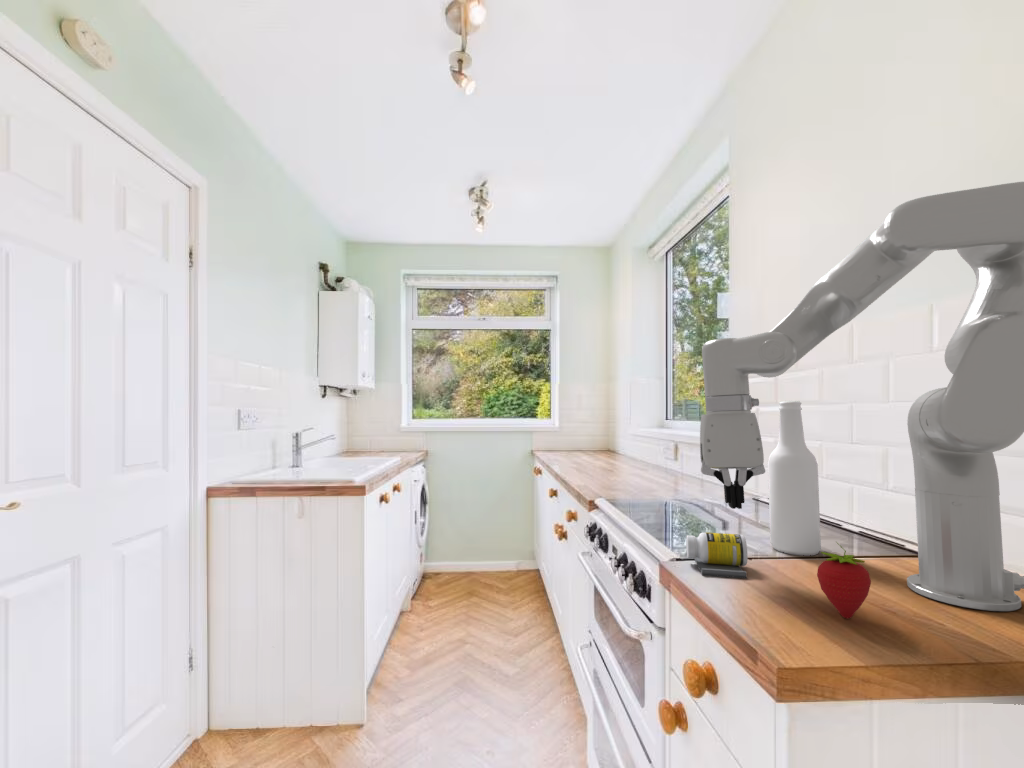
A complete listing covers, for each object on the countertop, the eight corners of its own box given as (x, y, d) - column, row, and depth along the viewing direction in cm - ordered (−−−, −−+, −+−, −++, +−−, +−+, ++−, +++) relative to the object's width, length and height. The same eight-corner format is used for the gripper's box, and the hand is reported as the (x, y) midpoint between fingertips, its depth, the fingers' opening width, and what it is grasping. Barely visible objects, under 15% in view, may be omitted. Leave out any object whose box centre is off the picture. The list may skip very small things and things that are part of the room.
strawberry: (810, 618, 65) (807, 543, 65) (830, 604, 69) (827, 534, 70) (862, 633, 60) (859, 553, 61) (879, 617, 65) (876, 542, 65)
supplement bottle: (747, 539, 83) (688, 536, 85) (748, 570, 83) (689, 567, 85) (741, 530, 88) (685, 527, 91) (742, 559, 88) (686, 556, 91)
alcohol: (773, 553, 94) (768, 401, 96) (768, 542, 102) (763, 402, 104) (825, 558, 91) (819, 400, 92) (816, 546, 99) (810, 401, 100)
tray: (730, 557, 92) (730, 551, 92) (746, 578, 80) (746, 572, 80) (692, 554, 93) (692, 549, 93) (702, 575, 82) (702, 569, 82)
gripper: (766, 404, 90) (773, 503, 88) (682, 408, 93) (688, 503, 92) (778, 403, 82) (787, 511, 81) (687, 407, 86) (694, 511, 84)
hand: (735, 507), depth 86 cm, fingers closed
